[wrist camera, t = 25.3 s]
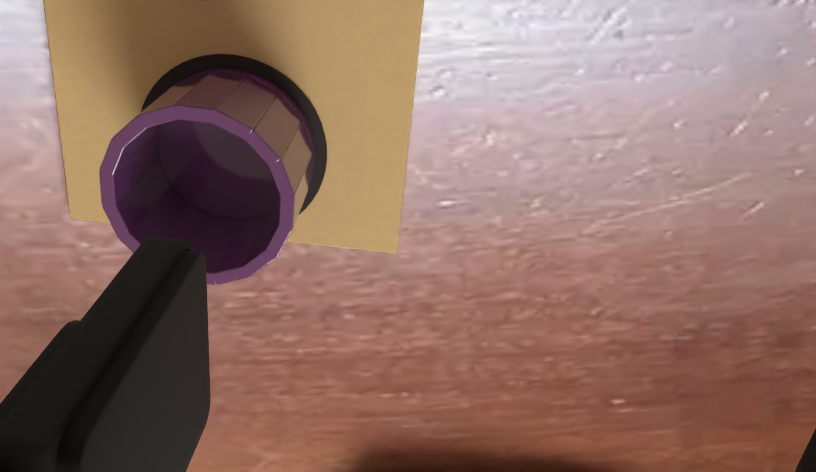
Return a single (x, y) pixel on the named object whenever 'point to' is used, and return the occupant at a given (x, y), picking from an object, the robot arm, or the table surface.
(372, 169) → the placemat
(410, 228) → the table surface
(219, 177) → the plum dish
